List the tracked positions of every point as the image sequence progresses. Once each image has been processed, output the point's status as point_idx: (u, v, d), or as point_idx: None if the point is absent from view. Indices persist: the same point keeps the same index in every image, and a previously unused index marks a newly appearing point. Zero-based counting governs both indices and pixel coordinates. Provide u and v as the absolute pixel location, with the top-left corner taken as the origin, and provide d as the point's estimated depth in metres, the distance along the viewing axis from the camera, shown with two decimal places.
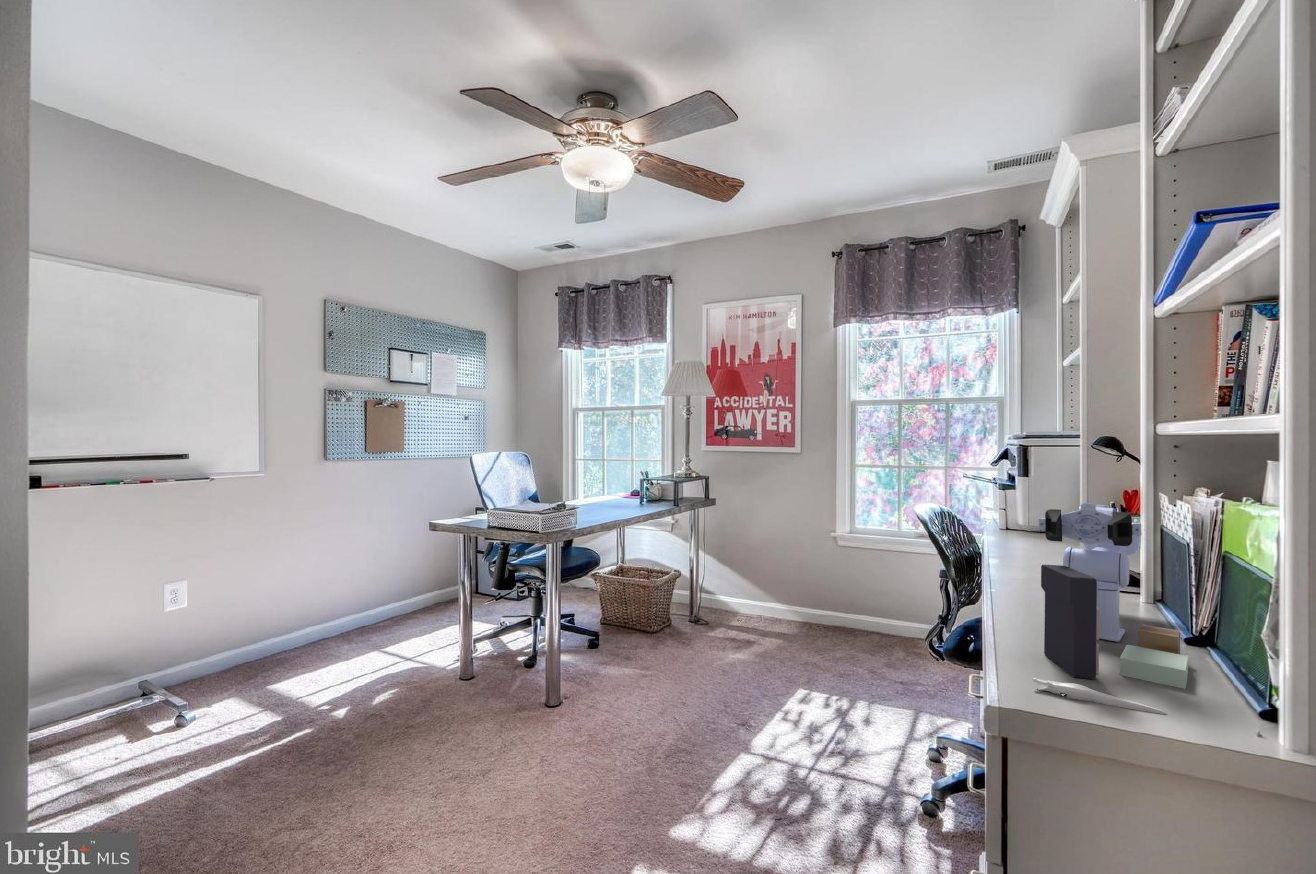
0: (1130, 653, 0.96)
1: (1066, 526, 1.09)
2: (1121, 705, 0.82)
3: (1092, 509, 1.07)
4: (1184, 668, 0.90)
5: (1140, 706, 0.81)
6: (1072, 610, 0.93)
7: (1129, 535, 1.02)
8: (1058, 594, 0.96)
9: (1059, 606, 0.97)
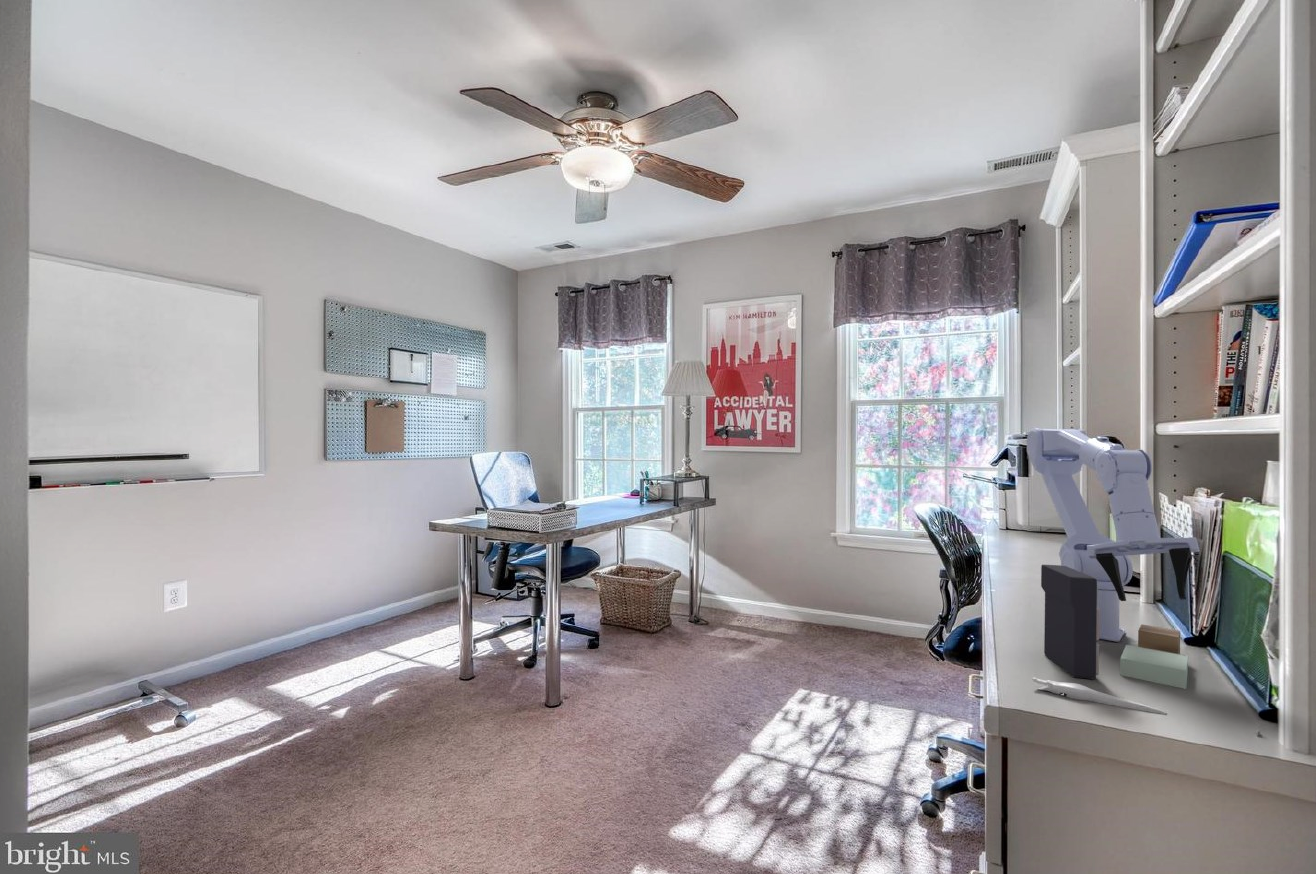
0: (1130, 653, 0.96)
1: (1119, 555, 1.04)
2: (1121, 705, 0.82)
3: (1142, 542, 1.00)
4: (1184, 668, 0.90)
5: (1140, 705, 0.81)
6: (1072, 610, 0.93)
7: (1189, 558, 0.98)
8: (1058, 594, 0.96)
9: (1059, 606, 0.97)
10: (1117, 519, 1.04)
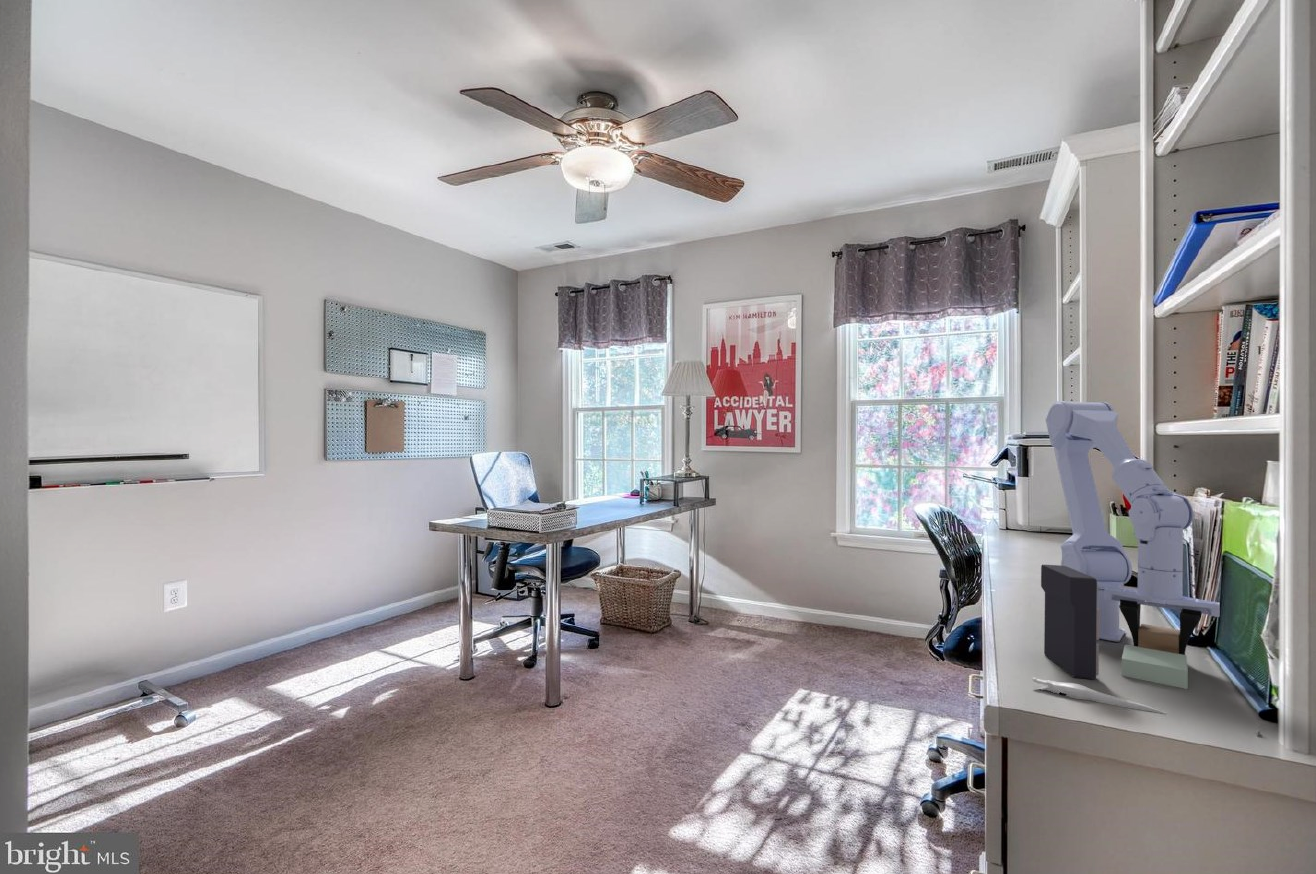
0: (1130, 653, 0.96)
1: None
2: (1120, 705, 0.82)
3: None
4: (1186, 668, 0.90)
5: (1139, 706, 0.81)
6: (1072, 610, 0.93)
7: None
8: (1058, 594, 0.96)
9: (1059, 606, 0.97)
10: (1142, 571, 1.01)
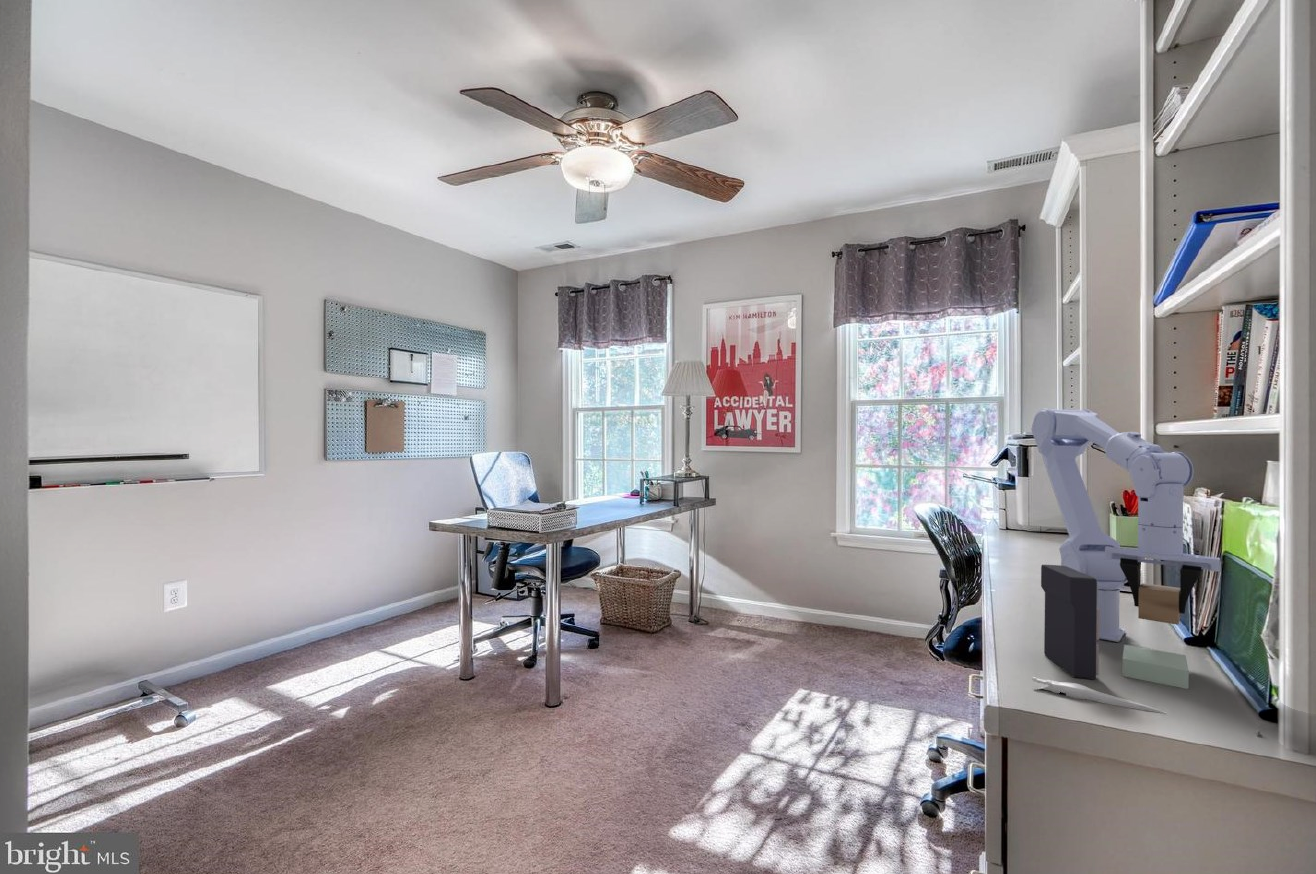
0: (1130, 653, 0.96)
1: None
2: (1120, 705, 0.82)
3: None
4: (1186, 668, 0.90)
5: (1139, 705, 0.81)
6: (1072, 610, 0.93)
7: None
8: (1058, 594, 0.96)
9: (1059, 606, 0.97)
10: (1142, 529, 1.01)
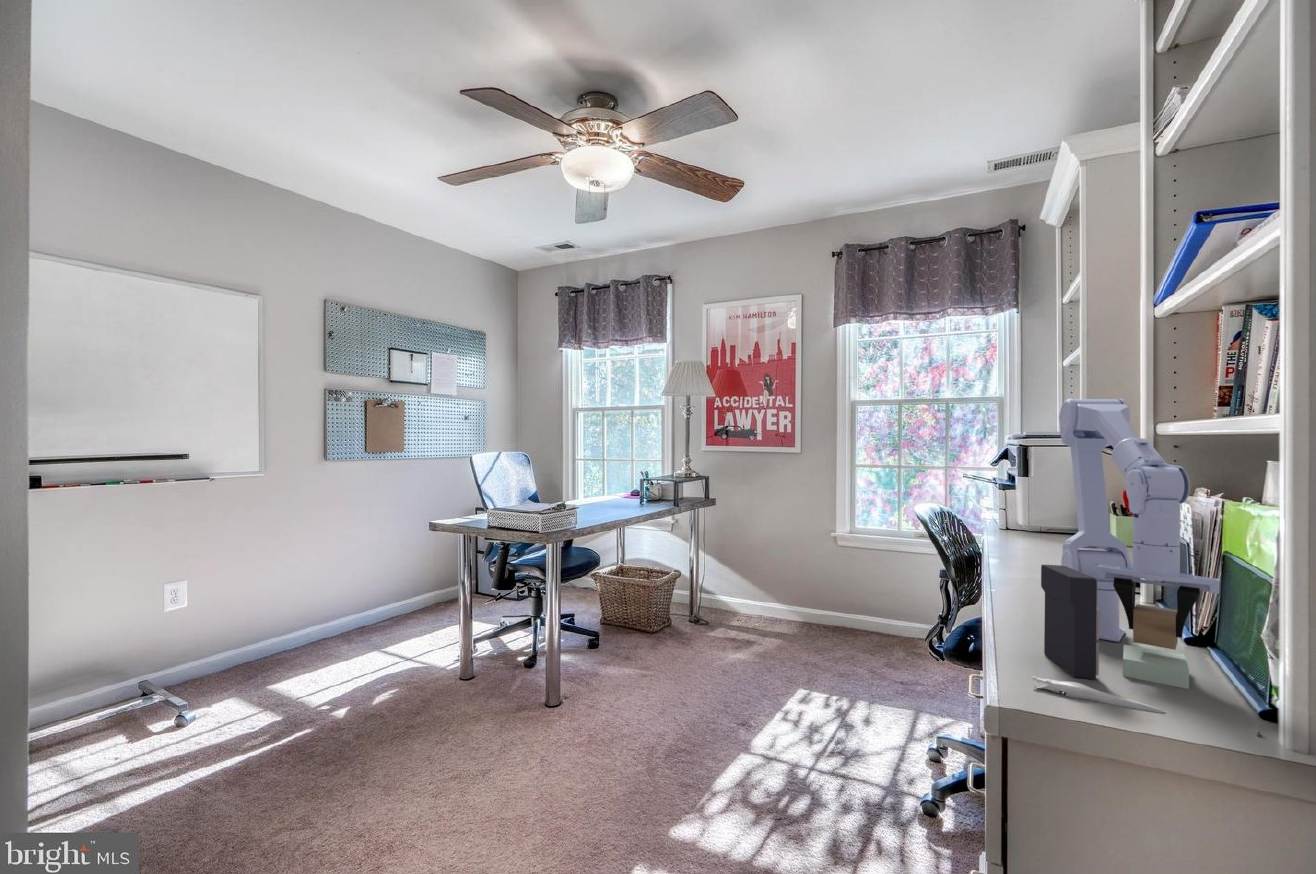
0: (1131, 653, 0.96)
1: None
2: (1120, 704, 0.82)
3: None
4: (1187, 668, 0.90)
5: (1139, 704, 0.81)
6: (1072, 610, 0.93)
7: None
8: (1058, 594, 0.96)
9: (1059, 606, 0.97)
10: (1137, 547, 0.96)
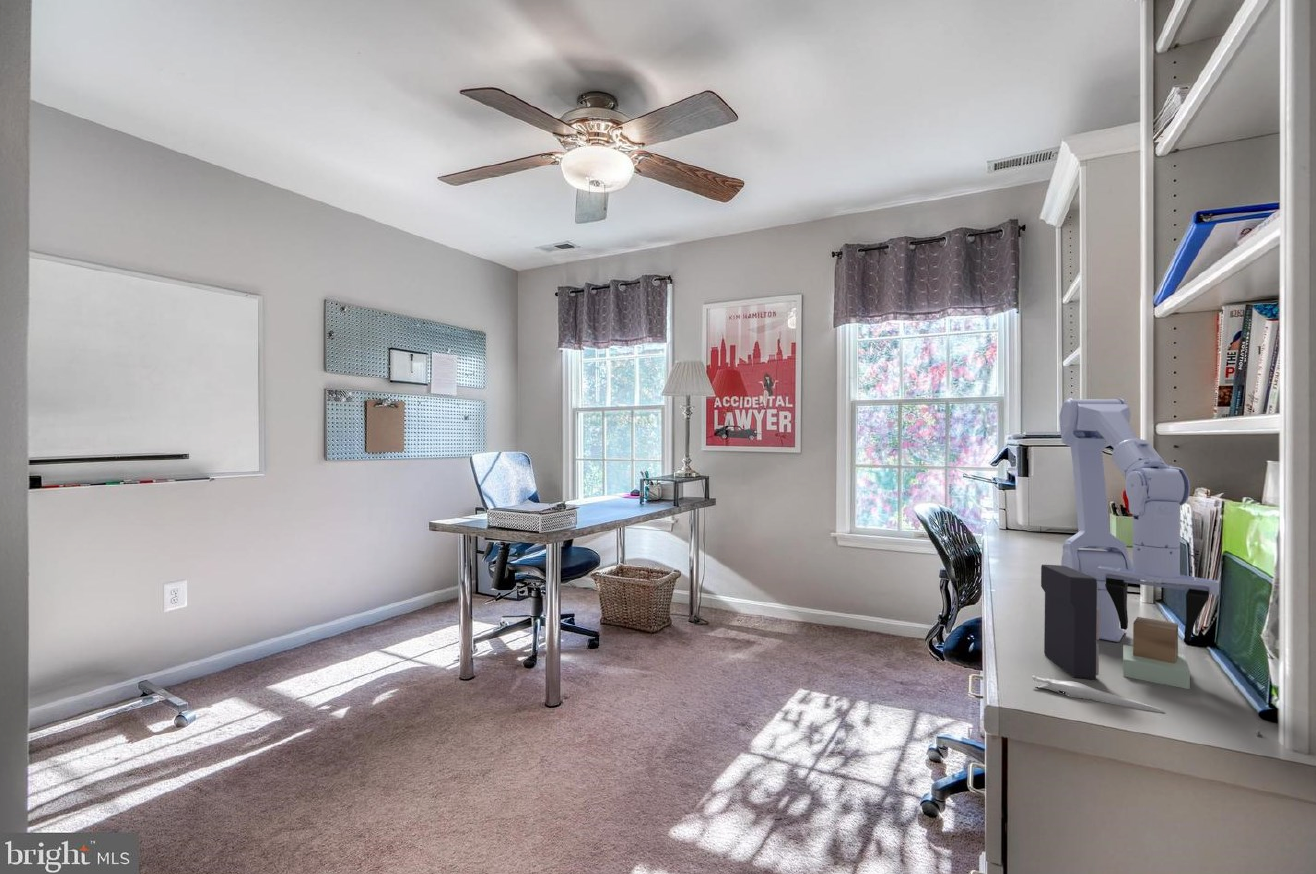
0: (1131, 654, 0.96)
1: (1130, 582, 0.98)
2: (1120, 703, 0.82)
3: None
4: (1187, 668, 0.90)
5: (1139, 704, 0.81)
6: (1072, 610, 0.93)
7: None
8: (1058, 594, 0.96)
9: (1059, 606, 0.97)
10: (1137, 548, 0.96)
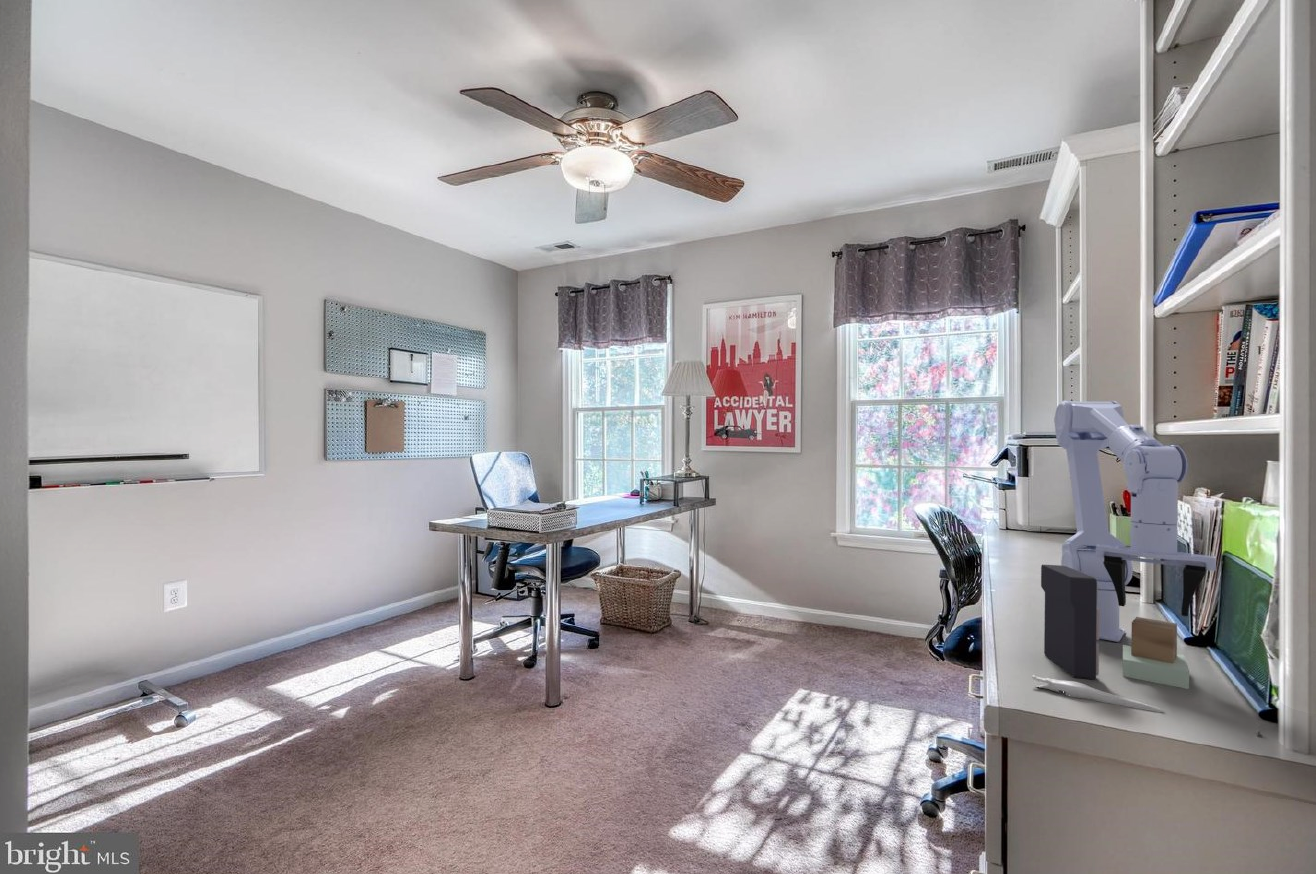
0: (1130, 654, 0.96)
1: (1128, 560, 0.99)
2: (1119, 703, 0.82)
3: None
4: (1187, 668, 0.90)
5: (1138, 704, 0.81)
6: (1072, 610, 0.93)
7: None
8: (1058, 594, 0.96)
9: (1059, 606, 0.97)
10: (1135, 526, 0.97)
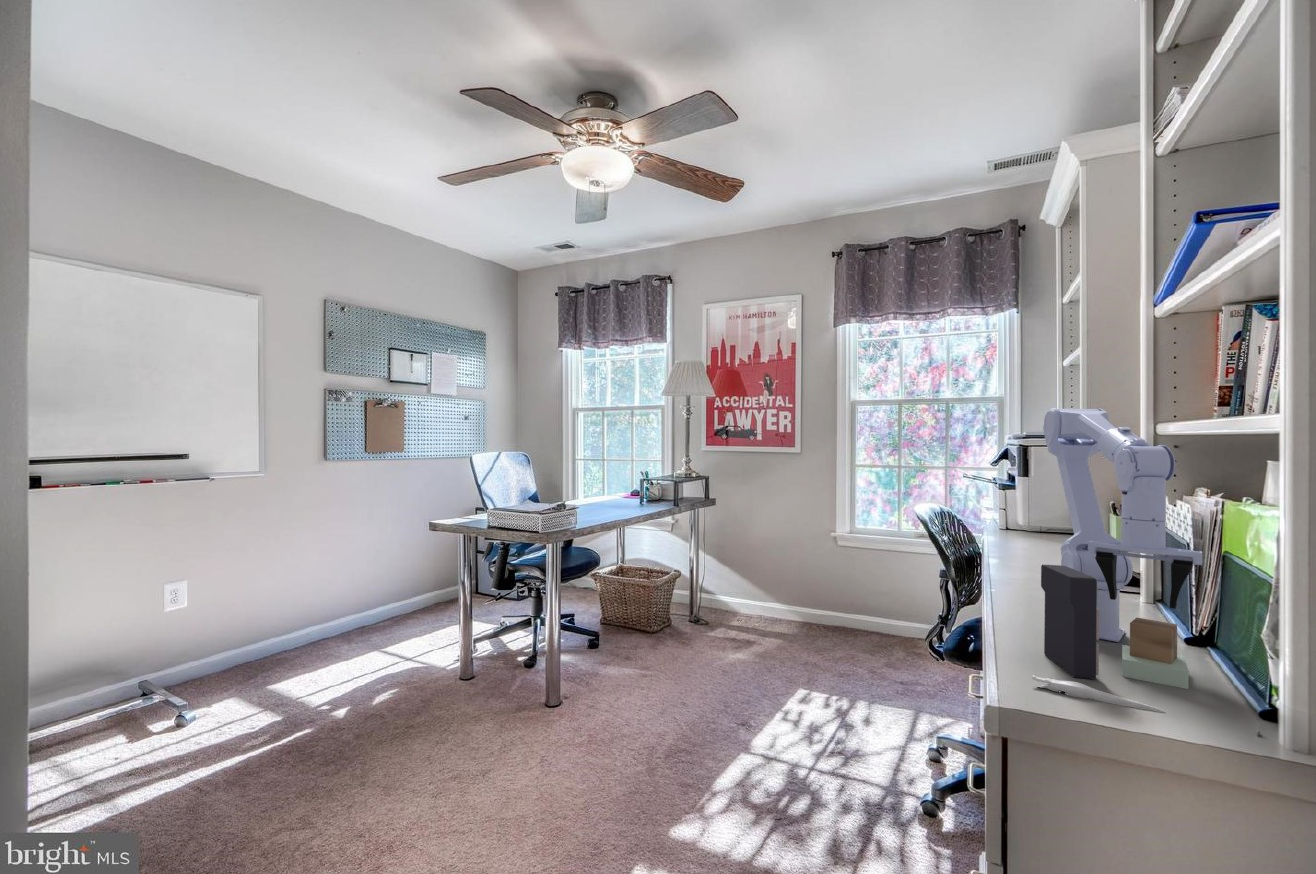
0: None
1: None
2: (1119, 703, 0.82)
3: None
4: (1186, 668, 0.90)
5: (1138, 704, 0.82)
6: (1072, 610, 0.93)
7: None
8: (1058, 594, 0.96)
9: (1059, 606, 0.97)
10: (1125, 522, 1.01)
